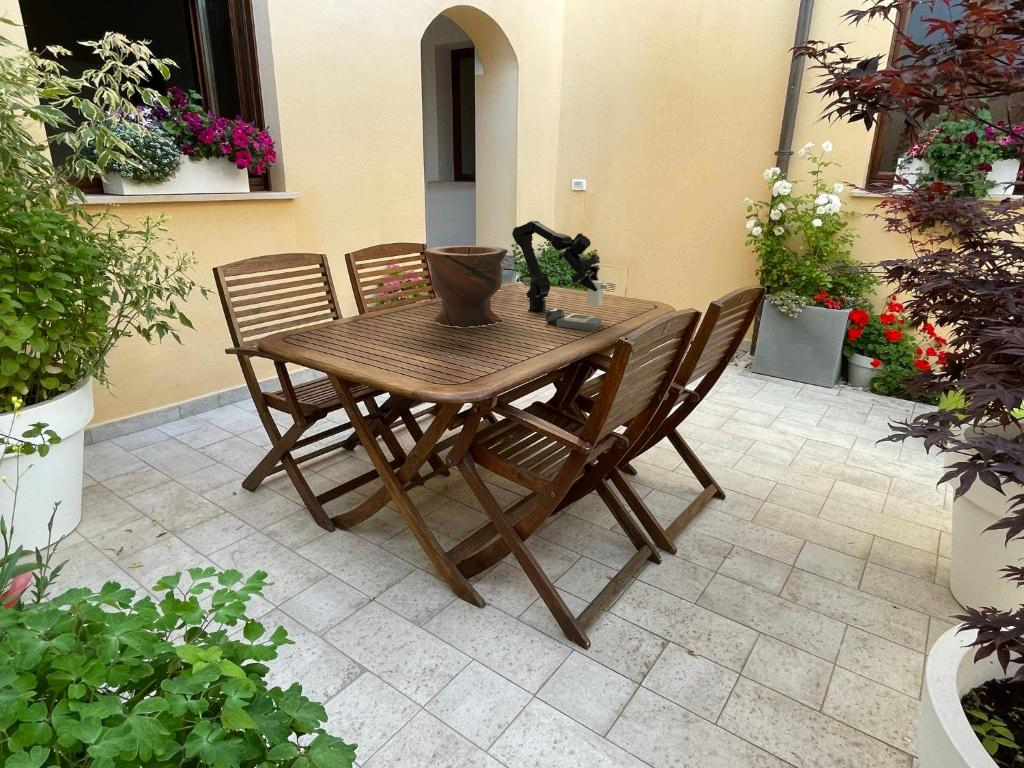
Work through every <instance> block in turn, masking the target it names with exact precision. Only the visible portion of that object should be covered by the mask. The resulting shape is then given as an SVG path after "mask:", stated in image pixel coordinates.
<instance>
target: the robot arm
mask: <svg viewBox="0 0 1024 768" xmlns="http://www.w3.org/2000/svg"><path fill="white" fill-rule="evenodd" d="M511 234H512V235H511V236H512V238H513V239H514V242H515V243H516V244H517V245H518V246H519V248H520V249H521V252H522V254H523V258H524V260H525V264H526V265H527V269H528V272H529V276H530V278H531V281H530V286H529V289H528V291H527V292H526V297H527V299H529V309H527V312H533V313H542V312H546V311H547V306H546V305H547V301H546V298H547V297H548V296H549V293H550V291H551V282H550V280H549V277H548V276H547V275H545V276H544V275H543V273H542V271H541V267H540V265H539V262H538V260H537V256H536V253H535V250H534V248H533V245H532V243H533V235H534V234H537V235H538V236H540V237H541V238H543V239H545V240H546V241H548V242H549V243H550V244H551V246H552V247H553V248H554V249H555V250H557V251H563V252H559V257H558V260H559V261H562V260H565V261H566V263H567V264H568V265H569V267H570V268H569V269H570V270H571V271H574V272H575V274H574V275H573V276H572V277H571V282H572V283H573V285H576V284H578V285H580V286H583V287H585V288H587V289H588V288H589V289H591V290H593V291H595V292H596V291H597V288H596V287H595V285H594V283H593V282H592V280H598V281H600V279H599V278H598V273H599V271H600V270H601V268H600V266H599V263H601V261H600V259H601V257H600V256H599V255H597V254H596V253H593V254H591V255H590V257H589V258H587V259H586V258H585V257H582V256H581V255H582V254H583V253H585V251H586V250H587V249H588V248H589V247H590V246H591V245H592V243H591V240H590V238H589V237H587V236H585V235H584V234H583V233H581V232H579V233H577V234H576V236H575V238H574V239H573V238H572V237H571V236H570V235H567V234H564V233H560V232H556V231H554V230H553V229H551V228H550V227H547V226H546V225H544V224H543V223H541V222H540V221H538V220H531V221H530V220H529V221H528V222H526V223H525V224H522V225H520V226H515V227H514V228H513V229H512V233H511ZM530 287H531V288H530Z"/></svg>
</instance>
